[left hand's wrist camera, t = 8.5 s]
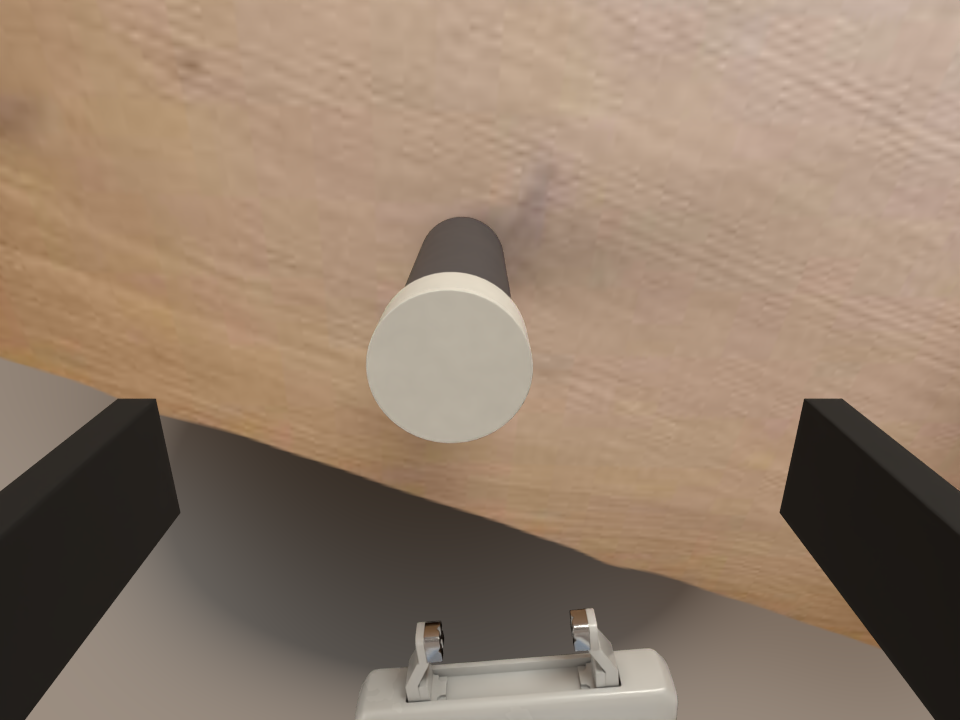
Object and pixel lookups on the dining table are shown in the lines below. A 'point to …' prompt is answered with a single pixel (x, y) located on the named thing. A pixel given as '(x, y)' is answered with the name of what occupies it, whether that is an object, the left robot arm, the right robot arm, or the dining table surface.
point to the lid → (450, 358)
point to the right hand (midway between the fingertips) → (505, 622)
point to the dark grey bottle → (462, 252)
